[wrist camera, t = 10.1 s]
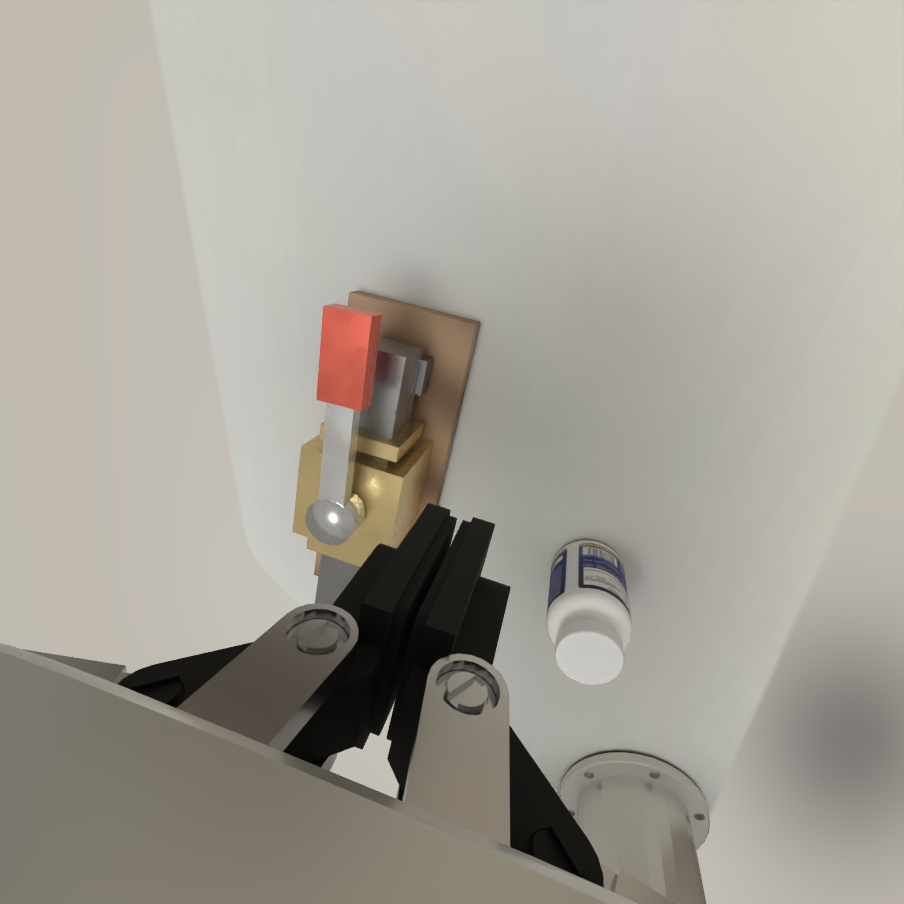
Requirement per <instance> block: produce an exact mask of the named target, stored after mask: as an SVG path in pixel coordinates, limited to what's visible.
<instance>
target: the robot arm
mask: <svg viewBox="0 0 904 904" xmlns="http://www.w3.org/2000/svg"><path fill="white" fill-rule="evenodd" d="M456 520H457V518H455V517H452V516H450V510H449V509H446V508H443V507H440V506H437V505H434V504H430V503H428V504H427V506H426V507H425V508H424V510H423V511H422V513H421V514H420V516H419V517H418V519H417V520H416V522H415V523H414V525H413V526H412V528H411V529H410V531H409V532H408V534H407V535H406V537H405V538H404V540H403V541H402V543H401V544H400V546H399V547H398V549H396V548H393V547H390V546H387V545H384V544H382V543H380V544H378V545H377V546H376V547H375V549H374V550H373V551H372V553H371V554H370V555H369V557H368V558H367V559H366V561H365V562H364V563H363V565H362V566H361V567H360V569H359V570H358V571H357V573H356V574H355V575H354V577H353V578H352V579H351V581H350V582H349V583H348V585H347V586H346V587H345V589H344V590H343V591H342V593H341V594H340V595H339V597H338V598H337V599H336V601H335V602H334V603H333V605H330V604H322V603H316V604H307V605H304V606H301V607H298V608H295V609H294V610H292V611H291V612H289V613H287V614H286V615H285V616H284V617H282V618H281V619H280V620H279V621H278V622H277V623H275V624H274V625H273V626H272V627H271V628H270V629H268V630H267V631H266V632H265V633H264V634H263V635H261V636H260V637H259V638H258V639H257V640H256V641H254V642H252V643H248V644H243V645H239V646H234V647H230V648H225V649H221V650H217V651H213V652H208V653H203V654H199V655H194V656H190V657H186V658H181V659H177V660H172V661H168V662H164V663H159V664H155V665H151V666H148V667H146V668H142V669H140V670H138V671H135V672H134V673H132V674H130V673H126V666H124V665H118V664H111V663H104V662H98V661H92V660H86V659H80V658H73V657H67V656H61V655H54V654H48V653H42V652H35V651H29V650H23V649H19V648H16V647H13V646H9V645H5V644H1V643H0V904H706V900H705V895H704V890H703V884H702V879H701V874H700V868H699V863H698V858H697V852H696V850H697V849H698V848H699V847H700V846H701V845H702V844H703V843H704V841H705V839H706V837H707V835H708V833H709V826H710V820H709V814H708V809H707V806H706V802H705V799H704V797H703V795H702V794H701V792H700V790H699V789H698V787H697V786H696V785H695V784H694V783H693V782H692V781H691V780H690V779H689V778H688V777H687V776H685V775H684V774H683V773H682V772H680V771H679V770H677V769H676V768H674V767H672V766H670V765H669V764H667V763H664V762H662V761H659V760H657V759H655V758H652V757H648V756H644V755H640V754H634V753H626V752H610V753H604V754H598V755H595V756H592V757H589V758H586V759H584V760H582V761H580V762H578V763H577V764H575V765H574V766H573V767H572V768H571V769H570V770H569V771H568V772H567V774H566V775H565V777H564V778H563V781H562V784H561V789H560V798H559V796H558V795H557V793H556V792H555V790H554V789H553V787H552V786H551V785H550V783H549V782H548V780H547V779H546V777H545V776H544V774H543V773H542V772H541V770H540V769H539V767H538V766H537V764H536V763H535V761H534V760H533V759H532V757H531V756H530V754H529V753H528V751H527V750H526V748H525V747H524V746H523V744H522V743H521V741H520V740H519V738H518V737H517V735H516V734H515V733H514V731H513V730H512V728H511V727H510V725H509V693H508V688H507V684H506V683H505V681H504V679H503V677H502V675H501V674H500V673H499V672H498V671H497V670H496V669H495V668H494V667H493V666H492V664H493V660H494V656H495V652H496V647H497V643H498V639H499V635H500V630H501V626H502V622H503V618H504V613H505V609H506V605H507V600H508V596H509V592H510V586H507V585H504V584H501V583H498V582H495V581H492V580H489V579H486V578H483V577H480V575H481V572H482V569H483V565H484V562H485V558H486V555H487V551H488V548H489V544H490V541H491V537H492V534H493V530H494V527H495V524H493V523H490V522H487V521H484V520H481V519H478V518H475V517H473V519H472V521H471V522H467V521H464V520H463V521H462V523H461V525H460V527H459V530H458V532H457V534H456V536H455V538H454V540H453V542H452V544H451V541H452V537H453V533H454V529H455V525H456ZM450 545H451V546H450ZM395 699H396V700H395ZM394 702H395V704H394ZM393 704H394V708H393V713H392V717H391V721H390V725H389V730H388V734H387V739H388V740H391V741H392V742H391V746H390V750H389V754H388V761H389V763H390V766H391V768H392V770H393V772H394V774H395V777H396V779H397V781H398V783H399V787H398V791H397V795H396V799H395V798H393V797H390V796H388V795H385V794H383V793H381V792H378V791H376V790H373V789H371V788H368V787H366V786H364V785H361V784H359V783H357V782H354V781H351V780H349V779H347V778H344V777H342V776H340V775H337V774H335V773H332V772H330V769H331V768H332V765H333V764H334V762H335V760H336V756H337V753H338V752H341V751H344V750H346V749H349V748H352V747H357V748H360V749H363V747H364V745H365V743H366V741H367V738H368V736H369V734H370V733H373V734H375V735H378V736H379V735H380V733H381V731H382V729H383V726H384V724H385V722H386V720H387V717H388V715H389V713H390V710H391V708H392V706H393Z"/></svg>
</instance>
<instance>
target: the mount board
mask: <svg viewBox="0 0 904 904" xmlns="http://www.w3.org/2000/svg"><path fill="white" fill-rule="evenodd" d="M348 306H349V307H353V308H357V309H362V310H366V311H371V312H375V313H380V314H382V318H381V326H380V335H379V336H381V337H384V338H388V339H392V340H396V341H399V342H403V343H407V344H410V345H414V346H418V347H422V348H424V350H423V354H424V355H428V356H432V357H434V362H433V367H432V372H431V377H430V382H429V387H428V391H426V392H425V393H424V394H423V395H421V396H418V395H415V397H414V402H413V408H412V413H411V418H410V419H411V420H415V421H418V422H422V423H424V425H423V430H422V435H421V437H420V438H424V439H427V440H430V441H434V444H433V448H432V453H431V458H430V462H429V467H428V472H427V476H426V481H425V486H424V490H423V495H422V500H421V504H420V509H419V514H418V517H419V516H420V514H421V513H422V511H423V510H424V508H425V507H426V506H427V504H428V503H430V504H434V505H437V506H438V503H439V499H440V494H441V490H442V486H443V481H444V477H445V473H446V468H447V464H448V460H449V455H450V451H451V447H452V442H453V438H454V434H455V429H456V425H457V421H458V416H459V412H460V408H461V403H462V399H463V395H464V390H465V386H466V382H467V377H468V373H469V369H470V364H471V360H472V356H473V351H474V347H475V342H476V338H477V334H478V329H479V325H480V322H477V321H473V320H470V319H466V318H462V317H458V316H454V315H450V314H446V313H442V312H438V311H435V310H431V309H427V308H423V307H419V306H415V305H411V304H407V303H403V302H399V301H396V300H392V299H388V298H384V297H380V296H376V295H372V294H368V293H364V292H361V291H354V292H349V300H348ZM418 517H417V518H416V520H417V519H418ZM416 520H415V521H414V523H415V522H416ZM414 523H413V524H412V526H413V525H414ZM412 526H411V527H410V529H411V528H412ZM410 529H409V530H408V532H409V531H410ZM408 532H407V534H408ZM407 534H406V535H407ZM406 535H405V537H406ZM405 537H404V538H405ZM404 538H403V540H404ZM403 540H402V541H403ZM402 541H401V543H402ZM401 543H400V544H401ZM400 544H399V546H400ZM399 546H398V547H399ZM398 547H397V549H398ZM320 562H321V553H318V552H317V555H316V563H315V571H314V575H317V576H319V569H320Z"/></svg>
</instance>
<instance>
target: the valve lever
mask: <svg viewBox="0 0 904 904" xmlns="http://www.w3.org/2000/svg"><path fill="white" fill-rule="evenodd" d="M381 318H382V314H380V313H375V312H371V311H366V310H362V309H357V308H353V307H349V306H344V305H340V304H331V305H325V306H323V320H322V333H321V346H320V360H319V373H318V386H317V400H319V401H323V402H327V403H326V415H325V427H324V439H323V451H322V463H321V475H320V487H319V498H318V499H317V500H316V501H315V502H314V503H313V504H311V505H310V506H309V508H308V509H307V512H306V516H305V520H306V525H307V528H308V530H309V531H310V533H311V534H312V535H313V536H314V537H315V538H316V539H317V540H318V541H320V542H322V543H324V544H327V545H340V544H342V543H344V542H345V541H347V540H348V538H349V537H350V536H351V535H352V534H353V533H354V531H355V530H356V529H357V528H358V527H359V526H360V524H361V523H362V522H363V520H364V517H365V508H364V505H363V502H362V500H361V499H360V497H359V496H358V495H357V494H356V493H354V492H353V491H352V483H353V474H354V465H355V456H356V447H357V438H358V429H359V420H360V411H362V410H364V409H365V408H367V407H368V406H370V405H371V401H372V393H373V385H374V376H375V368H376V360H377V351H378V343H379V335H380V326H381Z"/></svg>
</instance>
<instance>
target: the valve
mask: <svg viewBox="0 0 904 904" xmlns="http://www.w3.org/2000/svg"><path fill="white" fill-rule="evenodd" d="M423 350H424V348H422V347H418V346H414V345H410V344H407V343H403V342H399V341H396V340H392V339H388V338H384V337H381V336H379V343H378V351H377V360H376V368H375V376H374V385H373V393H372V401H371V405H370V406H368V407H367V408H365V409H364V410H362V411H360V420H359V429H358V438H357V447H356V456H355V465H354V474H353V483H352V491H353V492H354V493H356V494H357V495H358V496H359V497H360V499H361V500H362V502H363V505H364V508H365V517H364V520H363V522H362V523H361V524H360V526H359V527H358V528H357V529H356V530H355V531H354V533H353V534H352V535H351V536H350V537H349V538H348V540H347V541H345V542H344V543H342V544H340V545H327V544H324V543H322V542H320V541H318V540H317V539H316V538H315V537H314V536H313V535H312V534H311V533H310V531H309V530H308V528H307V525H306V520H305V516H306V512H307V509H308V508H309V506H310V505H311V504H313V503H314V502H315V501H316V500H317V499H318V498H319V487H320V475H321V463H322V451H323V439H324V427H325V422H324V423H322V424H321V428H320V434H319V435H318V436H316V437H315V438H313V439H312V440H310V441H309V442H307V443H306V444H304V445H302V446H301V454H300V464H299V474H298V484H297V494H296V504H295V514H294V524H293V532H294V533H297V534H300V535H303V536H306V537H308V541H307V549H309V550H312V551H315V552H318V553H321V562H320V569H319V577H318V585H317V592H316V600H315V604H316V603H322V604H330V605H333V603H334V602H335V601H336V599H337V598H338V597H339V595H340V594H341V593H342V591H343V590H344V589H345V587H346V586H347V585H348V583H349V582H350V581H351V579H352V578H353V577H354V575H355V574H356V573H357V571H358V570H359V569H360V567H361V566H362V565H363V563H364V562H365V561H366V559H367V558H368V557H369V555H370V554H371V553H372V551H373V550H374V549H375V547H376V546H377V545H378V544H380V543H382V544H384V545H387V546H390V547H393V548H396V549H397V547H398V546H399V544H400V543H401V541H402V540H403V538H404V537H405V535H406V534H407V532H408V530H409V529H410V527H411V526H412V524H413V523H414V521H415V520H416V518H417V517H418V514H419V509H420V504H421V500H422V495H423V490H424V486H425V481H426V476H427V472H428V467H429V462H430V458H431V453H432V448H433V444H434V441H430V440H427V439H424V438H420V437H421V435H422V430H423V425H424V423H422V422H418V421H415V420H411V419H410V418H411V413H412V408H413V402H414V397H415V395H418V396H421V395H423V394H424V393H425V392H426V391H428V387H429V382H430V377H431V372H432V367H433V362H434V357H432V356H428V355H424V354H423Z"/></svg>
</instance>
